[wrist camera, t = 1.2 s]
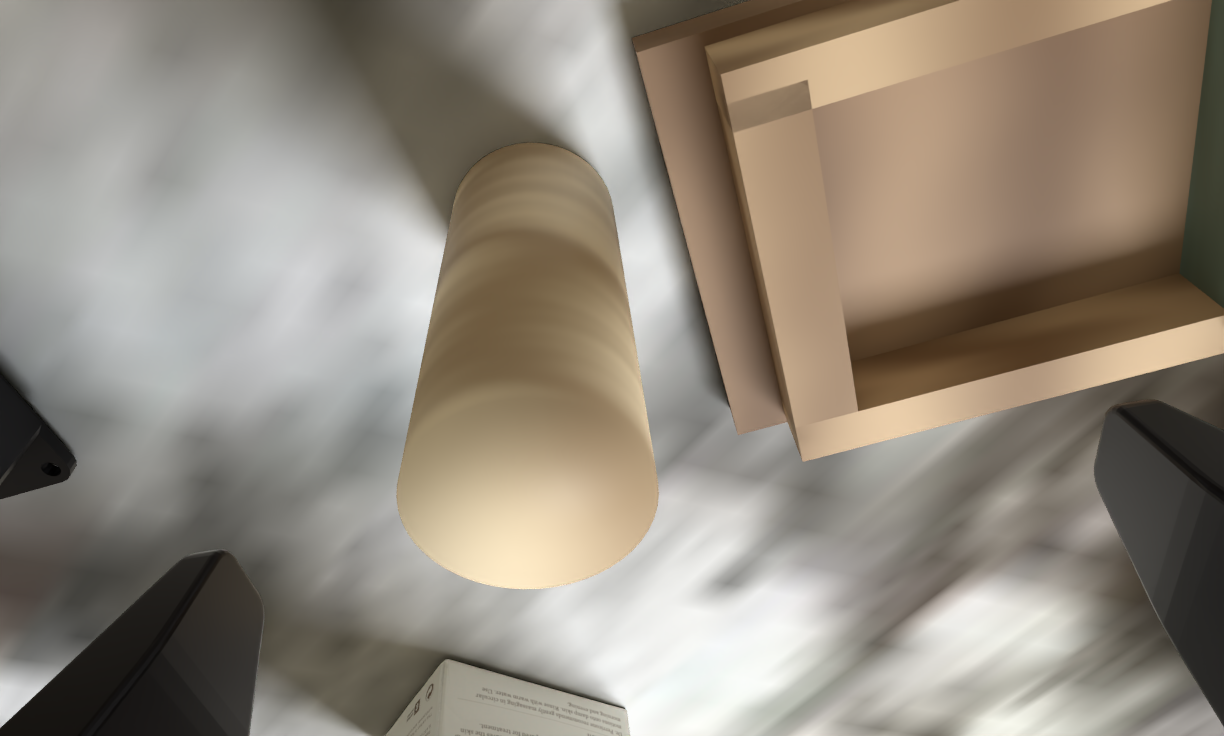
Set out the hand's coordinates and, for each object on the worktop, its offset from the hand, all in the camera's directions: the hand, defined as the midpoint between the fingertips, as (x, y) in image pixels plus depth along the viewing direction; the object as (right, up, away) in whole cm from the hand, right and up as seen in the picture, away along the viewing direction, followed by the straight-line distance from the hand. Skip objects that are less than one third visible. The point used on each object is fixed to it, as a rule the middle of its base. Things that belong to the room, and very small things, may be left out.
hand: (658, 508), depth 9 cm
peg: (-2, +5, +13) cm, 14 cm away
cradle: (+9, +7, +12) cm, 17 cm away
